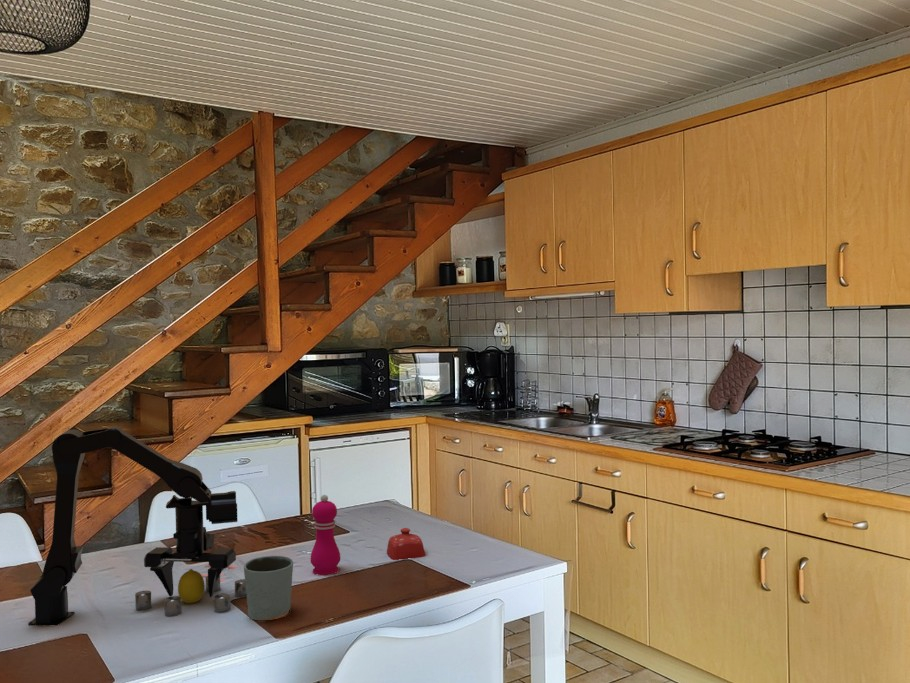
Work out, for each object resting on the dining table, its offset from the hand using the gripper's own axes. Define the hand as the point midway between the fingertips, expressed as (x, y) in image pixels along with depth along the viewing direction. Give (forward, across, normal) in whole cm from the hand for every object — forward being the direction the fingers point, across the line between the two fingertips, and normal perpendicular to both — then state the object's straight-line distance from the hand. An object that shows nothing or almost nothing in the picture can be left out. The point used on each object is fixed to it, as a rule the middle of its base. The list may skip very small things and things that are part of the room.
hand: (191, 596), depth 168 cm
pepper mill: (+2, -25, -20) cm, 32 cm away
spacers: (+2, 0, 0) cm, 2 cm away
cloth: (+3, +4, -21) cm, 22 cm away
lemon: (+2, 0, 0) cm, 2 cm away
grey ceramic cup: (+2, -20, +7) cm, 21 cm away
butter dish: (+3, -43, -34) cm, 54 cm away
